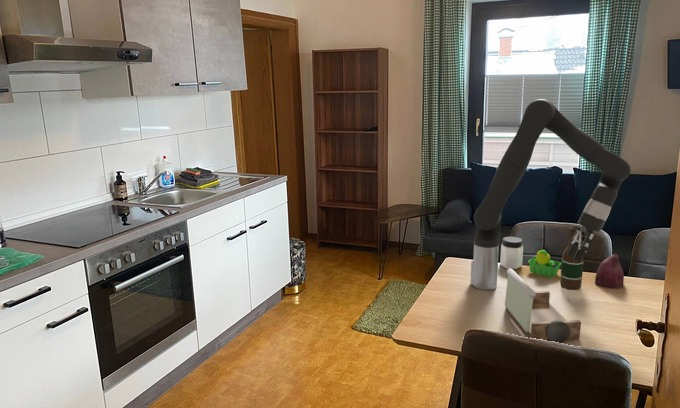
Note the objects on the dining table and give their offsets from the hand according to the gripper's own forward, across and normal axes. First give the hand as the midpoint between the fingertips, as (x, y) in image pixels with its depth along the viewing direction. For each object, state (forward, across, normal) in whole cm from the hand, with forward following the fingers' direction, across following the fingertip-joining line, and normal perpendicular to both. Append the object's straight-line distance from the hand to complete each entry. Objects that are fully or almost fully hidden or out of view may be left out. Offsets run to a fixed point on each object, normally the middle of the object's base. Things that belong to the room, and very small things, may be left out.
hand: (573, 258), depth 173 cm
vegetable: (+7, -28, +25) cm, 37 cm away
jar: (+18, -42, -9) cm, 47 cm away
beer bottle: (+13, -22, +11) cm, 28 cm away
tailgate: (+24, +12, -11) cm, 29 cm away
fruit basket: (+14, -35, +3) cm, 38 cm away
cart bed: (+23, +10, -3) cm, 25 cm away
